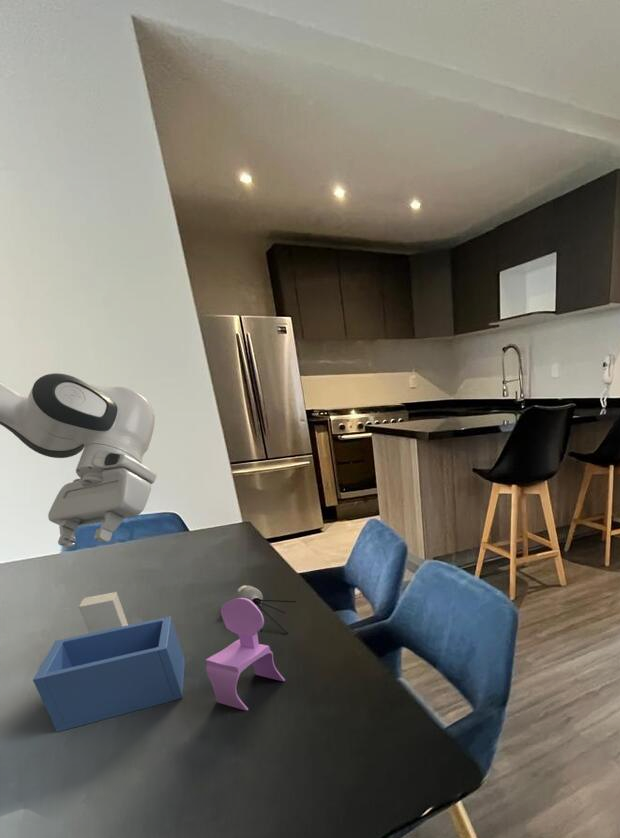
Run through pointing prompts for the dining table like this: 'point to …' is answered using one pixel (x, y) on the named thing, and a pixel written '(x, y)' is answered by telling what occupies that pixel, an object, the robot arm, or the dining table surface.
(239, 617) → the toy chair
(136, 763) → the dining table surface
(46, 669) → the box
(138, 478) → the robot arm
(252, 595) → the reed diffuser
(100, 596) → the cream rectangular block
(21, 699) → the dining table surface
